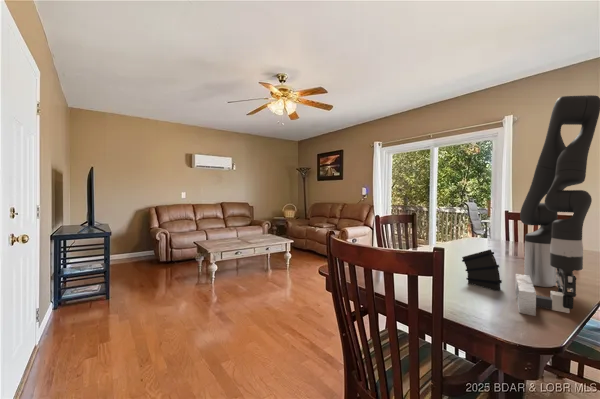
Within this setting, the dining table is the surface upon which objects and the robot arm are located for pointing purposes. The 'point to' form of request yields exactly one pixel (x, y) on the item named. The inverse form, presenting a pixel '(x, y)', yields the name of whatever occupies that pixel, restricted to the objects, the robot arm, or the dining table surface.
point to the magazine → (483, 270)
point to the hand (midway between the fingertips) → (565, 303)
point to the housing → (525, 294)
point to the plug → (552, 302)
